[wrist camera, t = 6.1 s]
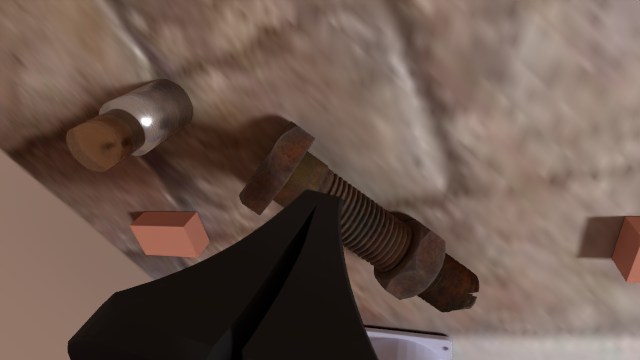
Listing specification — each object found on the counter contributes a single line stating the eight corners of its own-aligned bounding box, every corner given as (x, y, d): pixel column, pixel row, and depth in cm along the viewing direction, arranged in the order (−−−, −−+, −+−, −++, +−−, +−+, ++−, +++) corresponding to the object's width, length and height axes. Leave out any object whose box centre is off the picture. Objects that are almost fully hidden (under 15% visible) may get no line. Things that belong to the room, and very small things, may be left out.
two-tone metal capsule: (200, 125, 22) (129, 178, 17) (159, 129, 23) (81, 179, 18) (181, 76, 21) (97, 117, 15) (139, 81, 22) (46, 121, 16)
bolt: (448, 258, 25) (279, 137, 23) (507, 252, 21) (304, 101, 18) (421, 334, 23) (229, 208, 20) (481, 347, 18) (243, 187, 16)
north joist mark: (209, 241, 28) (197, 257, 27) (159, 239, 30) (146, 254, 28) (196, 212, 27) (183, 226, 25) (145, 211, 28) (129, 225, 27)
